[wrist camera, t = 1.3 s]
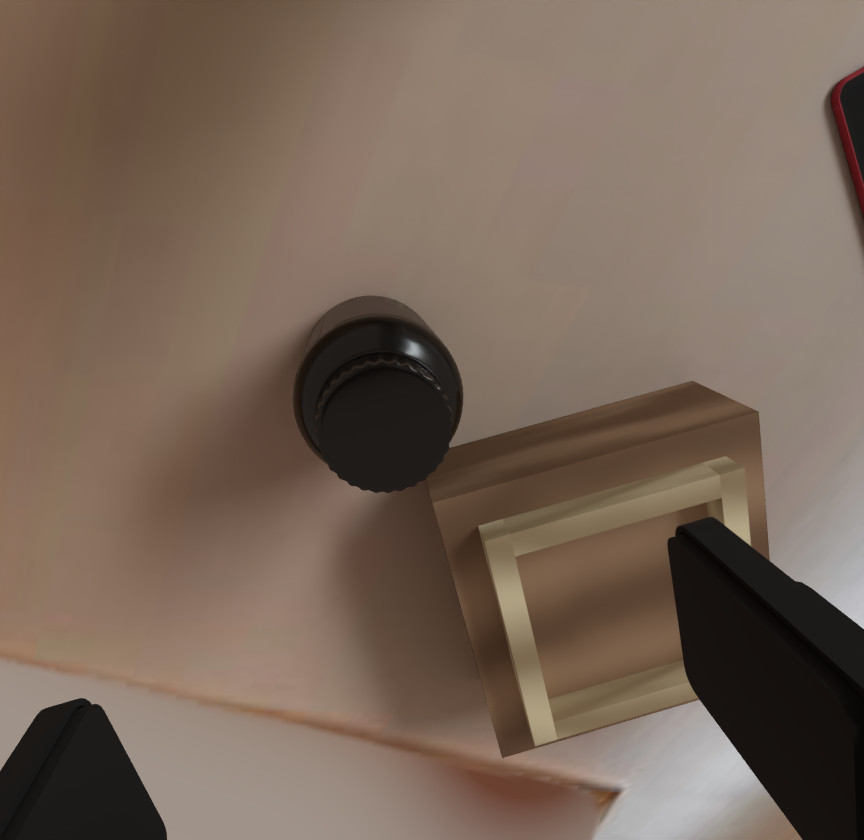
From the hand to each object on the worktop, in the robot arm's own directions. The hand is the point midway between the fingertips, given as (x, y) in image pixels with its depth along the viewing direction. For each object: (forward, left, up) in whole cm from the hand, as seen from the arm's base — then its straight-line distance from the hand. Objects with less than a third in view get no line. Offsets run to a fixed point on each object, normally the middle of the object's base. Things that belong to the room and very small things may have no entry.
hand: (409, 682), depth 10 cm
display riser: (+14, +9, -24) cm, 29 cm away
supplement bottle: (0, 0, -24) cm, 24 cm away
